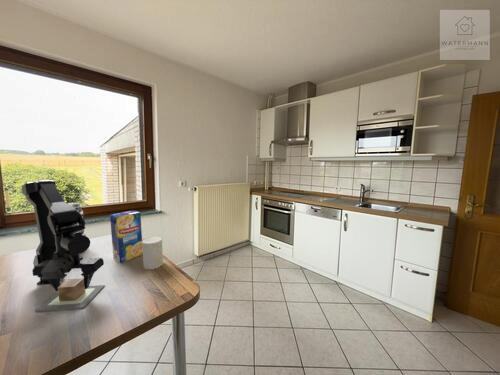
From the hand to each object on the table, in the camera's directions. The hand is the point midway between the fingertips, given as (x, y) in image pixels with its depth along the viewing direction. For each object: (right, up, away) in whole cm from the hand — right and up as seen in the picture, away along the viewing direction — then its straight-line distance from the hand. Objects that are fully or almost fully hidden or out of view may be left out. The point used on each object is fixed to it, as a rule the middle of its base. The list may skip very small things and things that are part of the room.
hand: (72, 289), depth 72 cm
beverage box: (+1, +1, +32) cm, 32 cm away
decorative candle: (-31, +2, +39) cm, 50 cm away
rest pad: (0, -3, 0) cm, 3 cm away
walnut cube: (0, -3, 0) cm, 3 cm away
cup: (+17, -1, +24) cm, 29 cm away
